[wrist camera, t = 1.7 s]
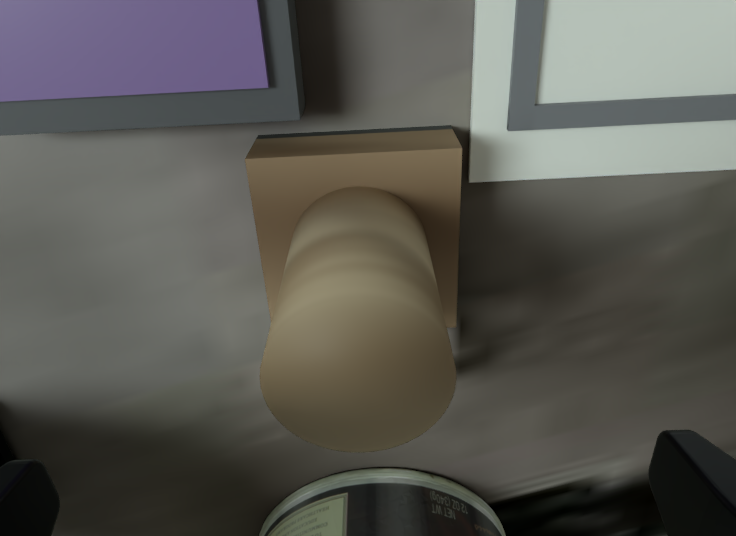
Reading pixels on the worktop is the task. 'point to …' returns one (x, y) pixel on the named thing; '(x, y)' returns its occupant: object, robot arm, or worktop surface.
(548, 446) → the worktop surface
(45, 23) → the ink pad
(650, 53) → the sheet
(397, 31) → the worktop surface
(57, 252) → the worktop surface
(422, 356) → the stamp
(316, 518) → the coffee can
